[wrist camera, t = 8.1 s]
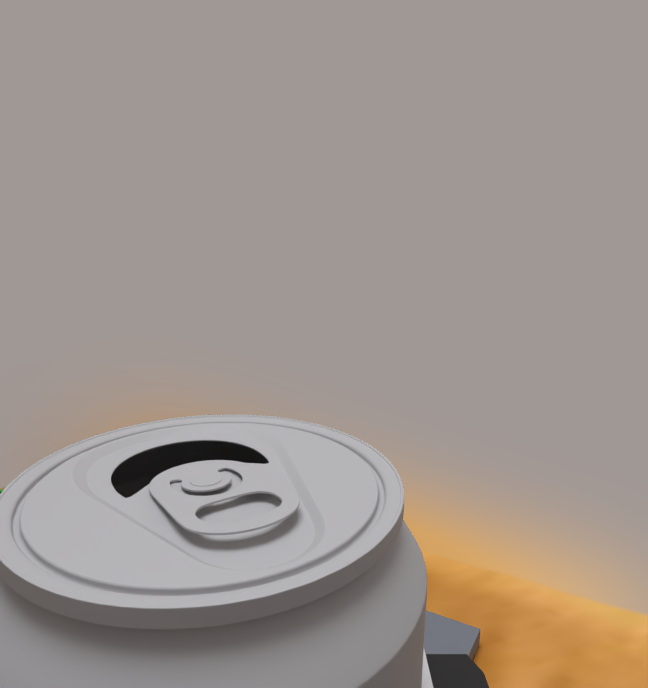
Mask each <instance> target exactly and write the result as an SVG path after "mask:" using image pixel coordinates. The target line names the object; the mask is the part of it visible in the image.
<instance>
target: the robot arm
mask: <svg viewBox="0 0 648 688" xmlns="http://www.w3.org/2000/svg"><path fill="white" fill-rule="evenodd" d="M421 688H489V686H488V684H487V681H486V678H485V675H484V673H483V672H482V671H481V670H480V669H479V667H478V666H477V665H476V664H475V663H474V662H473V661H472V659H471V658H470V657H469V656H468V655H467V654H425V650H423V668H422V685H421Z"/></svg>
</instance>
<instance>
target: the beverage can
mask: <svg viewBox="0 0 648 688" xmlns="http://www.w3.org/2000/svg"><path fill="white" fill-rule="evenodd" d="M403 512H404V487H403V484H402V480H401V478H400V475H399V473H398V471H397V470H396V469H395V467H394V466H393V464H392V463H391V462H390V461H389V460H388V459H387V458H386V457H385V456H384V455H383V454H381V453H380V452H379V451H378V450H376V449H375V448H373V447H372V446H370V445H369V444H367V443H365V442H364V441H362V440H360V439H358V438H356V437H353V436H351V435H349V434H346V433H343V432H341V431H338V430H335V429H332V428H329V427H326V426H322V425H318V424H314V423H309V422H305V421H300V420H294V419H287V418H281V417H271V416H260V415H203V416H190V417H181V418H172V419H165V420H160V421H153V422H147V423H143V424H137V425H133V426H129V427H124V428H121V429H117V430H113V431H110V432H106V433H103V434H99V435H97V436H93V437H90V438H88V439H85V440H83V441H80V442H77V443H75V444H72V445H70V446H68V447H65V448H63V449H61V450H59V451H57V452H55V453H53V454H51V455H49V456H47V457H45V458H43V459H42V460H40V461H38V462H37V463H35V464H34V465H32V466H31V467H29V468H28V469H26V470H25V471H24V472H22V473H21V474H20V475H19V476H17V477H16V478H15V479H14V480H13V481H12V482H11V483H10V484H9V485H8V486H7V487H6V488H5V489H4V490H3V491H2V493H1V494H0V688H421V685H422V668H423V650H424V633H425V616H426V599H427V573H426V566H425V562H424V559H423V555H422V552H421V550H420V548H419V546H418V543H417V542H416V540H415V538H414V536H413V535H412V533H411V531H410V530H409V528H408V527H407V525H406V523H405V522H404V520H403Z"/></svg>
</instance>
